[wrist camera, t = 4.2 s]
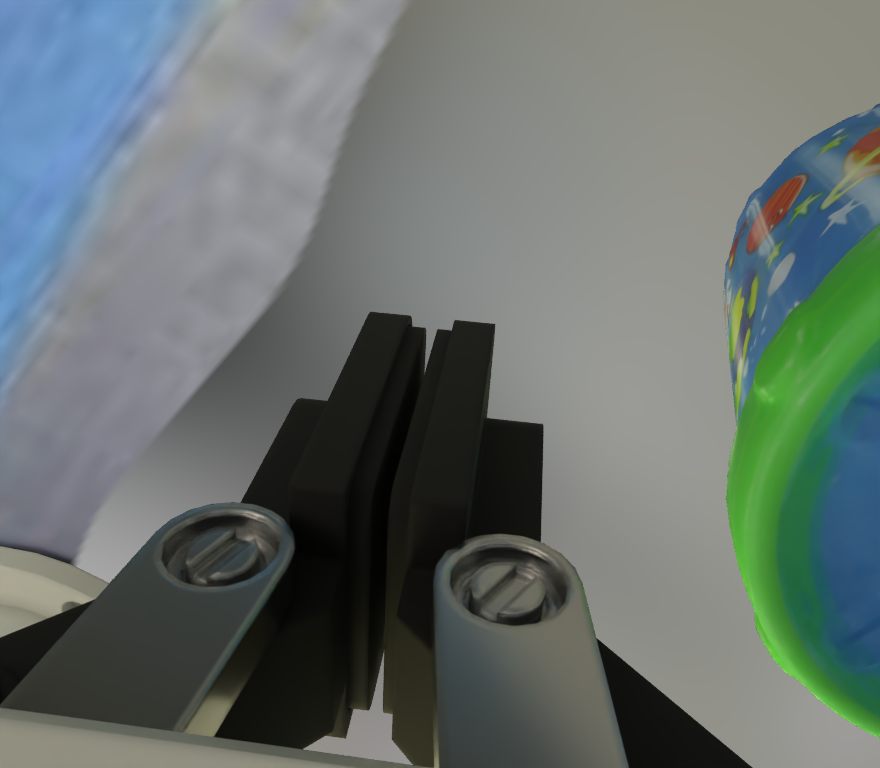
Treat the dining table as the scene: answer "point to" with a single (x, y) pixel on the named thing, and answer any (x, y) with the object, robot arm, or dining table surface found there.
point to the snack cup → (811, 414)
